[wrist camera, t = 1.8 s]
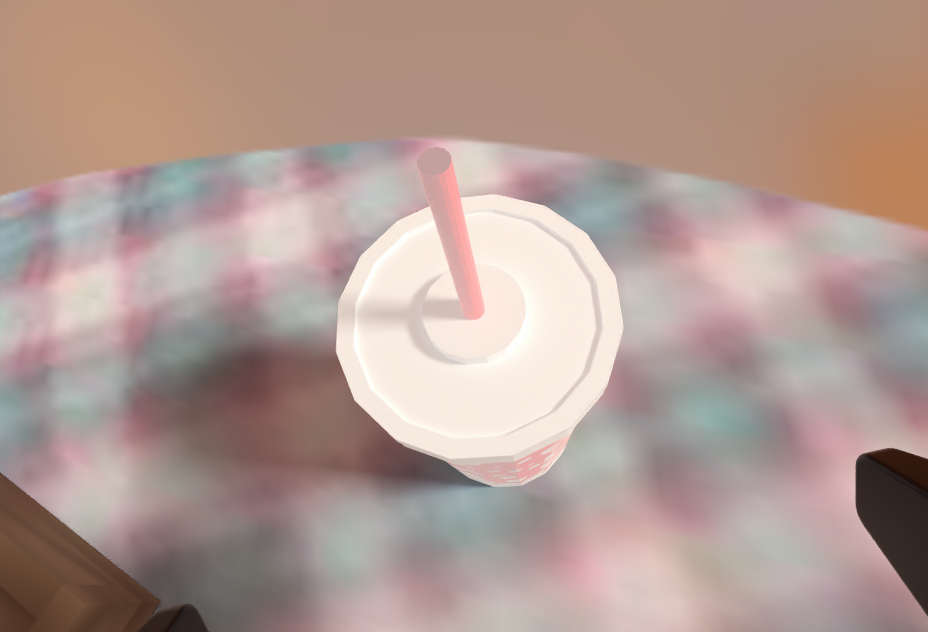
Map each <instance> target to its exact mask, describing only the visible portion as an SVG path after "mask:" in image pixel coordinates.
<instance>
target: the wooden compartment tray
mask: <svg viewBox="0 0 928 632" xmlns="http://www.w3.org/2000/svg"><path fill="white" fill-rule="evenodd" d="M160 602H161V601H159V600H158V599H157V598H156V597H154V596H153V595H152V594H151V593H149V592H148V591H147V590H146V589H144V588H143V587H142V586H141V585H139V584H138V583H137V582H136V581H134V580H133V579H132V578H131V577H130V576H128V575H127V574H126V573H125V572H123V571H122V570H121V569H120V568H118V567H117V566H116V565H115V564H113V563H112V562H111V561H110V560H108V559H107V558H106V557H105V556H103V555H102V554H101V553H100V552H98V551H97V550H96V549H95V548H93V547H92V546H91V545H90V544H88V543H87V542H86V541H85V540H83V539H82V538H81V537H80V536H78V535H77V534H76V533H75V532H74V531H72V530H71V529H70V528H69V527H67V526H66V525H65V524H64V523H62V522H61V521H60V520H59V519H57V518H56V517H55V516H54V515H52V514H51V513H50V512H49V511H47V510H46V509H45V508H44V507H42V506H41V505H40V504H39V503H37V502H36V501H35V500H34V499H32V498H31V497H30V496H29V495H27V494H26V493H25V492H24V491H22V490H21V489H20V488H19V487H18V486H16V485H15V484H14V483H13V482H11V481H10V480H9V479H8V478H6V477H5V476H4V475H3V474H1V473H0V632H137V631H138V630H139V629H140V628H141V627H142V626H143V625H144V624H145V623H146V622H147V621H148V619H149V618H150V616H151V615H152V613H153V612H154V610H155V609H156V607H157V606H158V605H159V603H160Z"/></svg>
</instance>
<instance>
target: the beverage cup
mask: <svg viewBox="0 0 928 632" xmlns="http://www.w3.org/2000/svg"><path fill="white" fill-rule="evenodd" d="M417 166H418V170H419V173H420V176H421V179H422V183H423V186H424V189H425V192H426V195H427V199H428V202H429V205H430V206H429V207H427V208H425V209H423V210H420V211H418V212H416V213H414V214H412V215H409V216H407V217H405V218H403V219H401V220H398V221H397V222H396V223H395V224H394V225H393V226H392V227H391V228H390V229H389V230H387V231H386V232H385V233H384V234H383V235H382V236H381V237H380V238H379V239H378V240H377V241H376V242H375V243H374V244H373V245H372V246H371V247H370V248H369V249H368V250H366V251H365V252H364V253H363V254H362V255H361V257H360V259H359V261H358V263H357V265H356V267H355V269H354V271H353V273H352V275H351V277H350V279H349V281H348V283H347V285H346V287H345V289H344V292H343V294H342V296H341V298H340V300H339V307H338V324H337V341H336V353H337V356H338V358H339V361H340V364H341V366H342V369H343V371H344V374H345V377H346V379H347V382H348V384H349V387H350V390H351V392H352V395H353V397H354V400H355V401H356V402H357V403H358V404H359V405H360V406H361V407H362V408H363V409H364V410H365V411H366V412H367V413H368V414H369V415H370V416H371V417H372V418H373V419H374V420H375V421H376V422H378V423H379V424H380V425H381V426H382V427H383V428H384V429H385V430H386V431H387V432H388V433H389V434H390V435H391V436H392V437H393V438H394V439H395V440H396V441H397V442H399V443H401V444H403V445H404V446H405V447H408V448H411V449H414V450H416V451H419V452H422V453H425V454H427V455H430V456H433V457H436V458H439V459H441V460H444V461H446V462H447V463H449V464H450V465H452V466H453V467H454V468H456V469H457V470H459V471H460V472H461V473H463V474H464V475H465V476H467V477H468V478H470V479H473V480H476V481H479V482H481V483H484V484H487V485H490V486H492V487H504V486H521V485H523V484H525V483H527V482H529V481H531V480H533V479H535V478H537V477H539V476H541V475H543V474H545V473H546V472H547V471H548V470H549V468H550V467H551V466H552V465H553V464H554V462H555V461H556V460H557V459H558V458H559V457H560V455H561V454H562V453H563V451H564V448H565V446H566V444H567V442H568V440H569V438H570V436H571V433H572V431H573V429H574V427H575V426H576V425H577V423H578V422H579V421H580V420H581V419H582V418H583V416H584V415H585V414H586V413H587V412H588V411H589V409H590V408H591V407H592V406H593V405H594V404H595V402H596V401H597V400H598V399H599V398H600V397H601V395H602V394H603V392H604V389H605V388H606V387H607V384H608V381H609V378H610V374H611V371H612V367H613V364H614V360H615V357H616V353H617V350H618V346H619V343H620V339H621V336H622V332H623V329H624V328H623V321H622V315H621V309H620V303H619V296H618V290H617V284H616V278H615V275H614V274H613V272H612V271H611V269H610V268H609V266H608V265H607V263H606V262H605V260H604V259H603V257H602V256H601V254H600V253H599V251H598V250H597V248H596V247H595V245H594V244H593V242H592V241H591V239H590V238H589V236H588V235H587V234H586V233H585V232H583V231H582V230H580V229H579V228H577V227H576V226H574V225H573V224H571V223H570V222H568V221H567V220H565V219H564V218H562V217H561V216H559V215H558V214H556V213H555V212H553V211H552V210H550V209H549V208H547V207H546V206H543V205H539V204H535V203H530V202H526V201H522V200H517V199H513V198H509V197H504V196H500V195H496V194H493V195H484V196H474V197H465V198H460V194H459V190H458V185H457V181H456V176H455V172H454V167H453V163H452V158H451V156H450V154H449V152H448V151H446V150H445V149H443V148H438V147H435V148H430V149H427V150H425V151H424V152H423V153H422V154H421V155H420V156H419V158H418V160H417Z"/></svg>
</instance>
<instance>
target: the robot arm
mask: <svg viewBox="0 0 928 632" xmlns="http://www.w3.org/2000/svg"><path fill="white" fill-rule="evenodd" d="M856 509H857V513H858V516H859V518H860V520H861V522H862V524H863V525H864V527H865V528H866V530H867V531H868V532H869V534H870V535H871V537H872V538H873V539H874V541H875V542H876V544H877V545H878V547H879V548H880V549H881V551H882V552H883V554H884V555H885V556H886V558H887V559H888V561H889V562H890V563H891V565H892V566H893V568H894V569H895V571H896V572H897V573H898V575H899V576H900V578H901V579H902V580H903V582H904V583H905V585H906V586H907V588H908V589H909V590H910V592H911V593H912V595H913V596H914V597H915V599H916V600H917V602H918V603H919V605H920V606H921V607H922V609H923V610H924V612H925V613H926V614H927V616H928V459H926V458H923V457H920V456H917V455H914V454H911V453H908V452H904V451H901V450H898V449H894V448H886V449H881V450H877V451H872V452H868V453H864V454H862V455H860V456H859V457H858V459H857V461H856ZM137 632H209V631H208V629H207V627H206V626H205V624H204V622H203V620H202V618H201V616H200V614H199V612H198V610H197V609H196V608H195V607H194V606H193V605H190V604H184V605H180V606H175V607H171V608H166V609H163V610H161V611H159V612H158V613H156V614H155V615H154V616H153V617H152V618H151V619H150V620H149V621H148V622H147V623H145V624H144V625H143V626H142V627H141V628H140V629H139V630H138V631H137Z"/></svg>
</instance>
